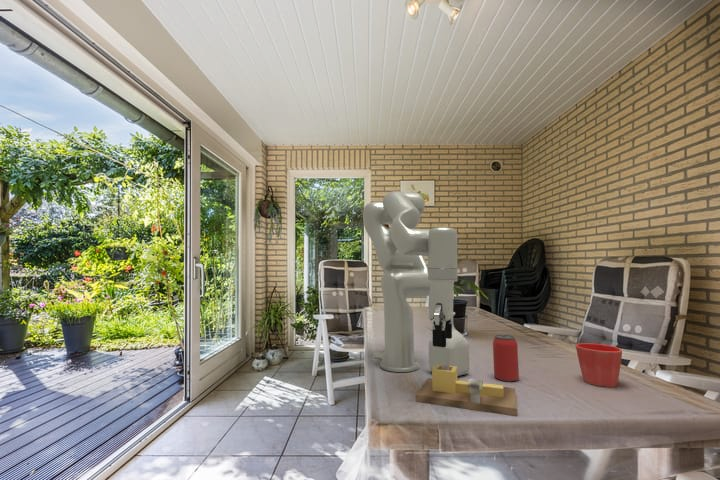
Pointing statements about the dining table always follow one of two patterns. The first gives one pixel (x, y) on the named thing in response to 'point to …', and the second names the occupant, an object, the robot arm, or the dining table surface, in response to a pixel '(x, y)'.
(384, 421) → the dining table surface
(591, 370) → the flower pot
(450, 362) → the soap bottle
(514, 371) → the beer can
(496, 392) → the link
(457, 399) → the bracket base
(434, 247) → the robot arm
